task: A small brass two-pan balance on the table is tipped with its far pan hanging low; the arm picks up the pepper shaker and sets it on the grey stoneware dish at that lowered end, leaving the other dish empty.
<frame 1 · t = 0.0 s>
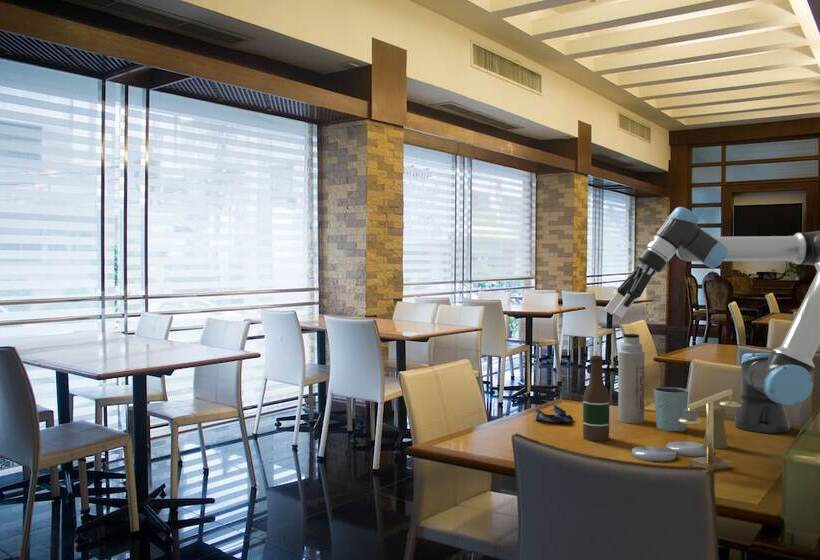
hand: (612, 313, 206), 36 cm above the table, tool tilted 35°, fingers open, 13 cm apart
dish low end: (653, 455, 185), on the table
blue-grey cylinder: (670, 428, 216), on the table
beer bottle: (596, 439, 203), on the table
snack package: (555, 423, 225), on the table
pepper shaker: (715, 446, 195), on the table
dish high end: (688, 450, 190), on the table
thermos bottle: (631, 421, 226), on the table
balance: (709, 466, 175), on the table
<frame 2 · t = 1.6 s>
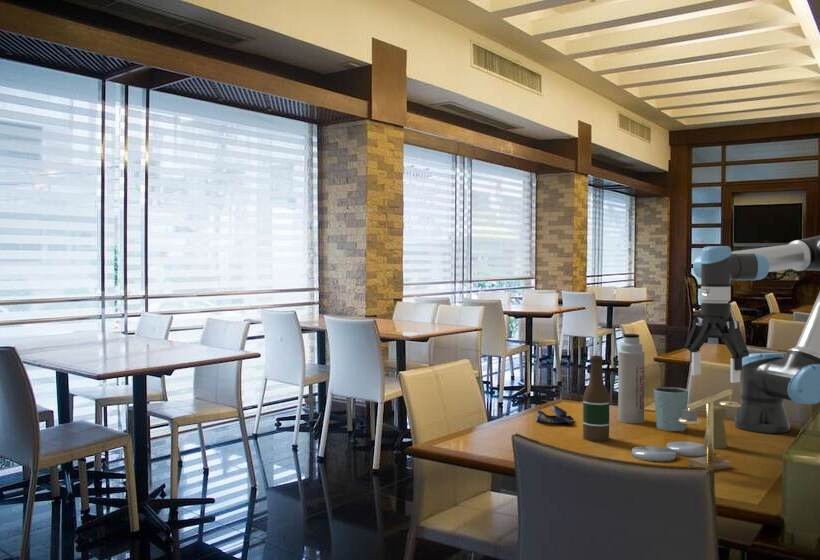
hand: (715, 378, 195), 19 cm above the table, tool pointing down, fingers open, 13 cm apart
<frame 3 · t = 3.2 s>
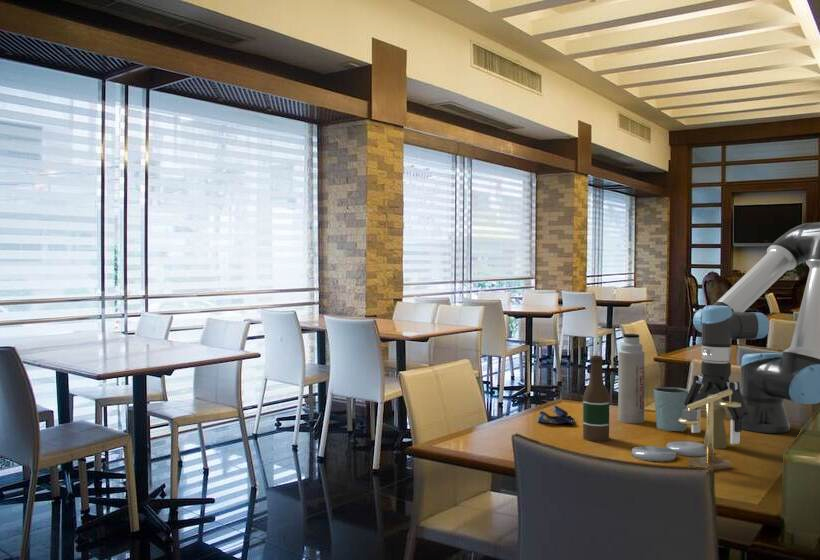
hand: (714, 437, 195), 2 cm above the table, tool pointing down, fingers open, 13 cm apart
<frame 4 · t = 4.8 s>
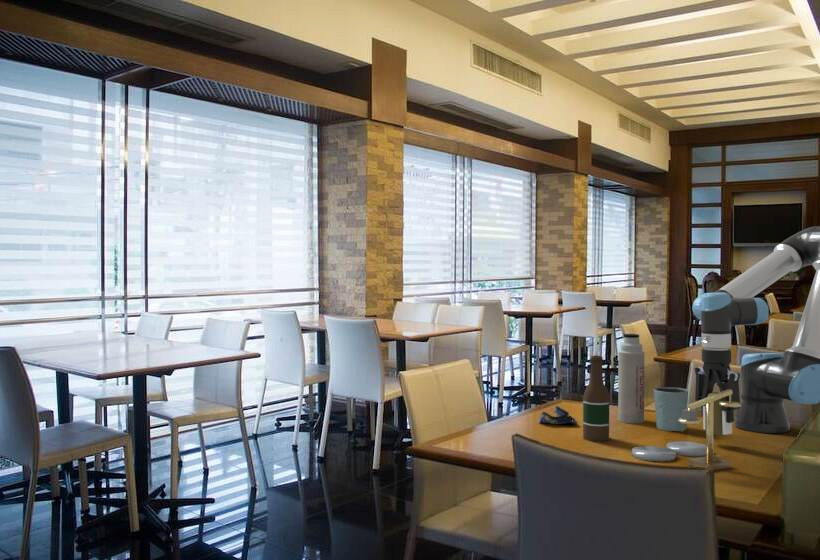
hand: (717, 431, 195), 4 cm above the table, tool pointing down, fingers closed on pepper shaker, 6 cm apart
pepper shaker: (718, 432, 195), point 4 cm above the table, touching gripper
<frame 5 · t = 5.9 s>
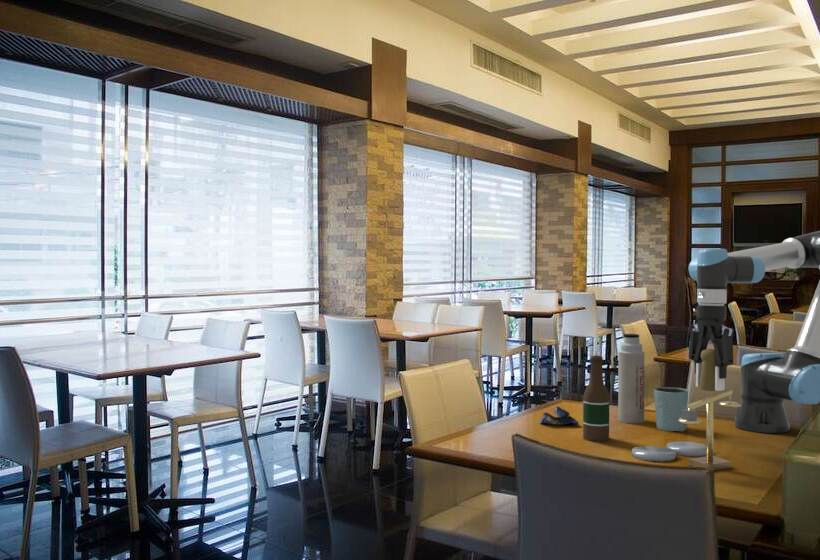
hand: (709, 388, 194), 16 cm above the table, tool pointing down, fingers closed on pepper shaker, 6 cm apart
pepper shaker: (710, 389, 194), point 16 cm above the table, touching gripper
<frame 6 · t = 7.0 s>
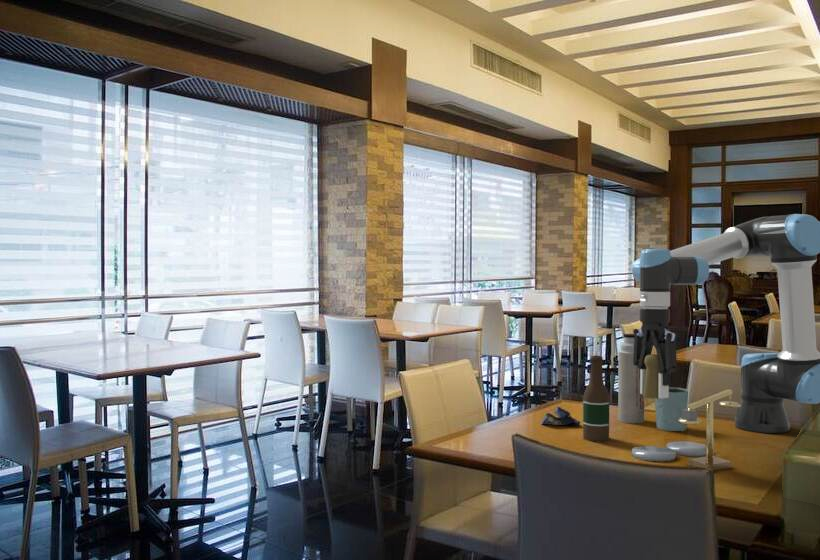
hand: (654, 395, 185), 16 cm above the table, tool pointing down, fingers closed on pepper shaker, 6 cm apart
pepper shaker: (654, 397, 185), point 16 cm above the table, touching gripper
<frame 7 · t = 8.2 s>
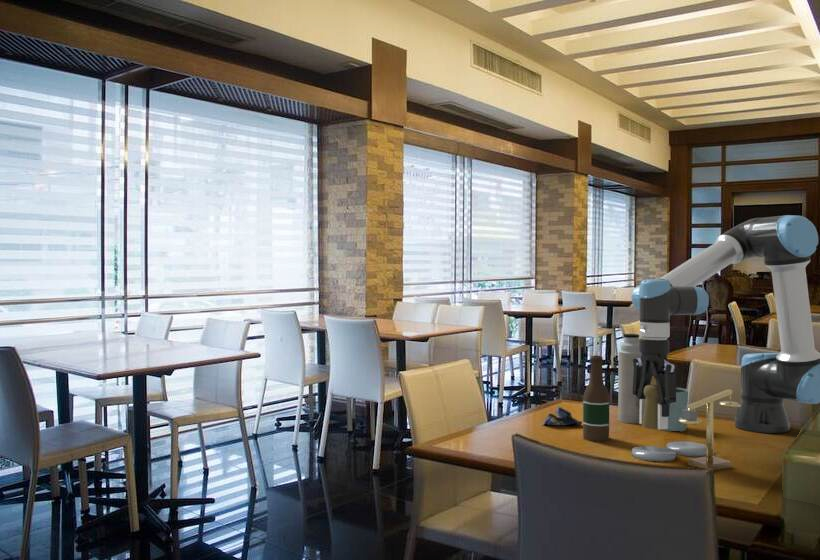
hand: (653, 425, 185), 8 cm above the table, tool pointing down, fingers closed on pepper shaker, 6 cm apart
pepper shaker: (653, 427, 185), point 8 cm above the table, touching gripper
when the fingers open (3 cm above the table, at t = 9.3 s): pepper shaker drops 1 cm, resting on dish low end.
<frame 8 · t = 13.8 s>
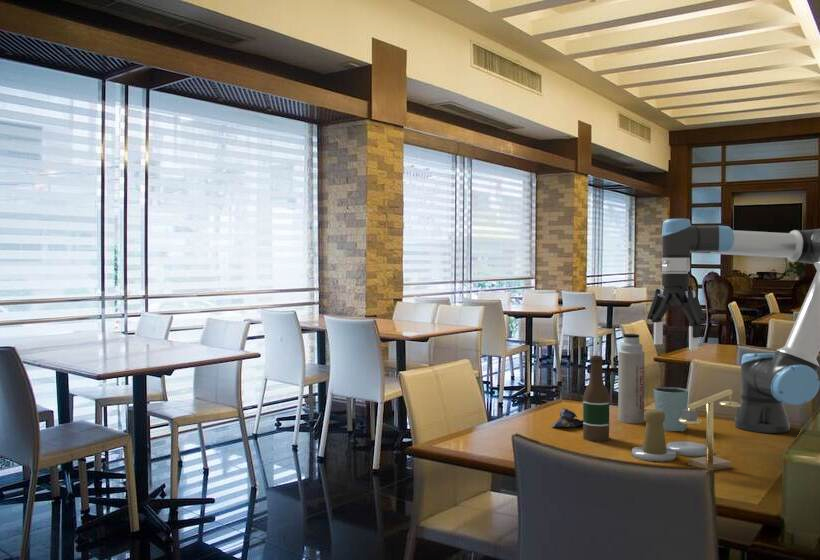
hand: (675, 346, 202), 27 cm above the table, tool pointing down, fingers open, 13 cm apart
snack package: (569, 427, 219), on the table
pepper shaker: (654, 452, 185), point 1 cm above the table, touching dish low end
everything else where it was.
at the end: pepper shaker inside the target area on the dish low end (0.2 cm from its centre), point 1.0 cm above the dish low end's base; pepper shaker tilted 0°; the gripper is holding nothing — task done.
